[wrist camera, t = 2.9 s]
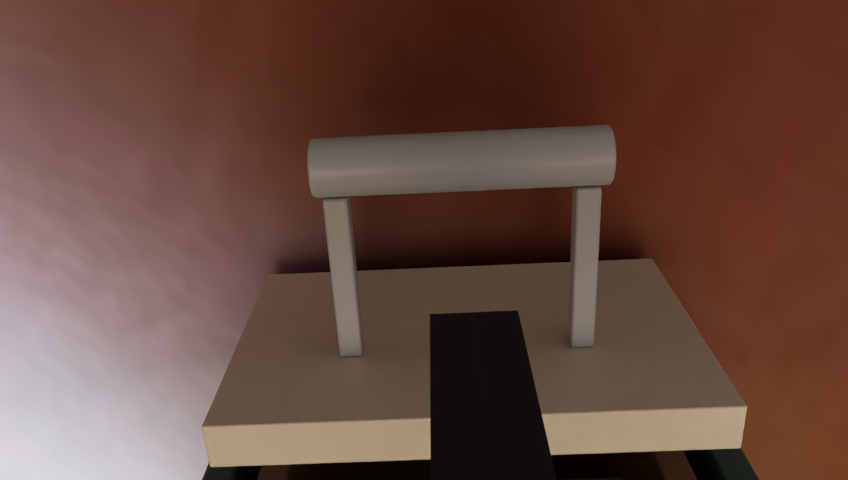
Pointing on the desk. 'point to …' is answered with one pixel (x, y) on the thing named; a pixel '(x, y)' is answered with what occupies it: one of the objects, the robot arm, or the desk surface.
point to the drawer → (459, 293)
